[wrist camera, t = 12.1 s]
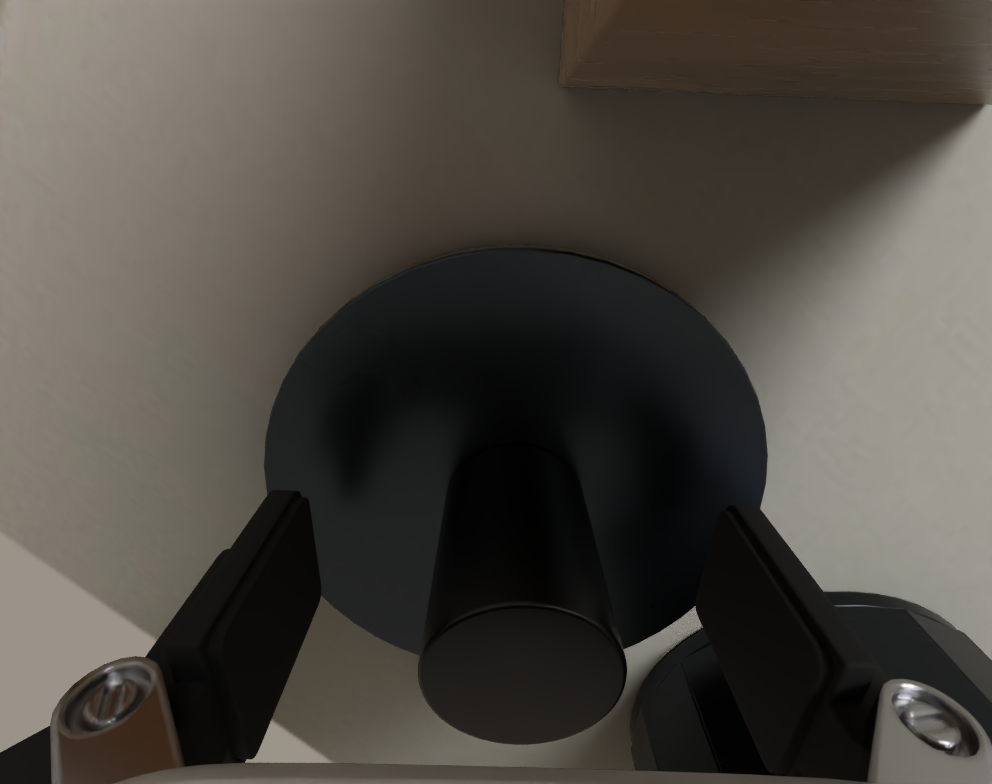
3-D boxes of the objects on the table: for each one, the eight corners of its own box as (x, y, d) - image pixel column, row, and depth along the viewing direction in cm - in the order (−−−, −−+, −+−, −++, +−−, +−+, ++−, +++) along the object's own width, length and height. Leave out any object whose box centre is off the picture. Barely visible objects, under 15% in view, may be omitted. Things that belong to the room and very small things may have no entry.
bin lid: (310, 633, 17) (214, 869, 11) (244, 229, 11) (-4, 289, 6) (695, 644, 17) (793, 884, 11) (807, 251, 12) (1099, 330, 6)
